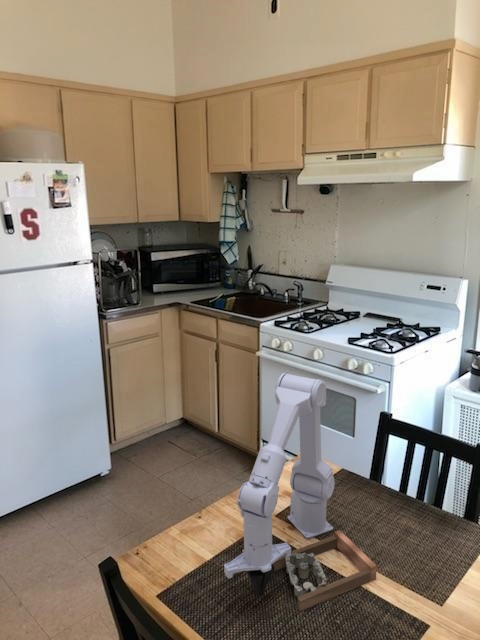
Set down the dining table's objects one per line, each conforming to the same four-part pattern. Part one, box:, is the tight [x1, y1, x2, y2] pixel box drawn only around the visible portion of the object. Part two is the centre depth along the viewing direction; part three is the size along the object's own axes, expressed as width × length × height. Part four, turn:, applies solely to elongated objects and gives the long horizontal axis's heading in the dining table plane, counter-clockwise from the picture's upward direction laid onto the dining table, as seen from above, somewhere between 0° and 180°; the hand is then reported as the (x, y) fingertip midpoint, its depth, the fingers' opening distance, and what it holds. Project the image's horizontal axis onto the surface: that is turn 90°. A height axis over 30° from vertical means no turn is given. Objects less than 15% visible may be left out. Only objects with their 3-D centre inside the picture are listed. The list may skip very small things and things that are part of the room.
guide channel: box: [273, 529, 378, 612], centre depth 115 cm, size 13×20×4 cm
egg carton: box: [285, 552, 328, 597], centre depth 113 cm, size 11×8×4 cm
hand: (258, 593), depth 109 cm, fingers closed
